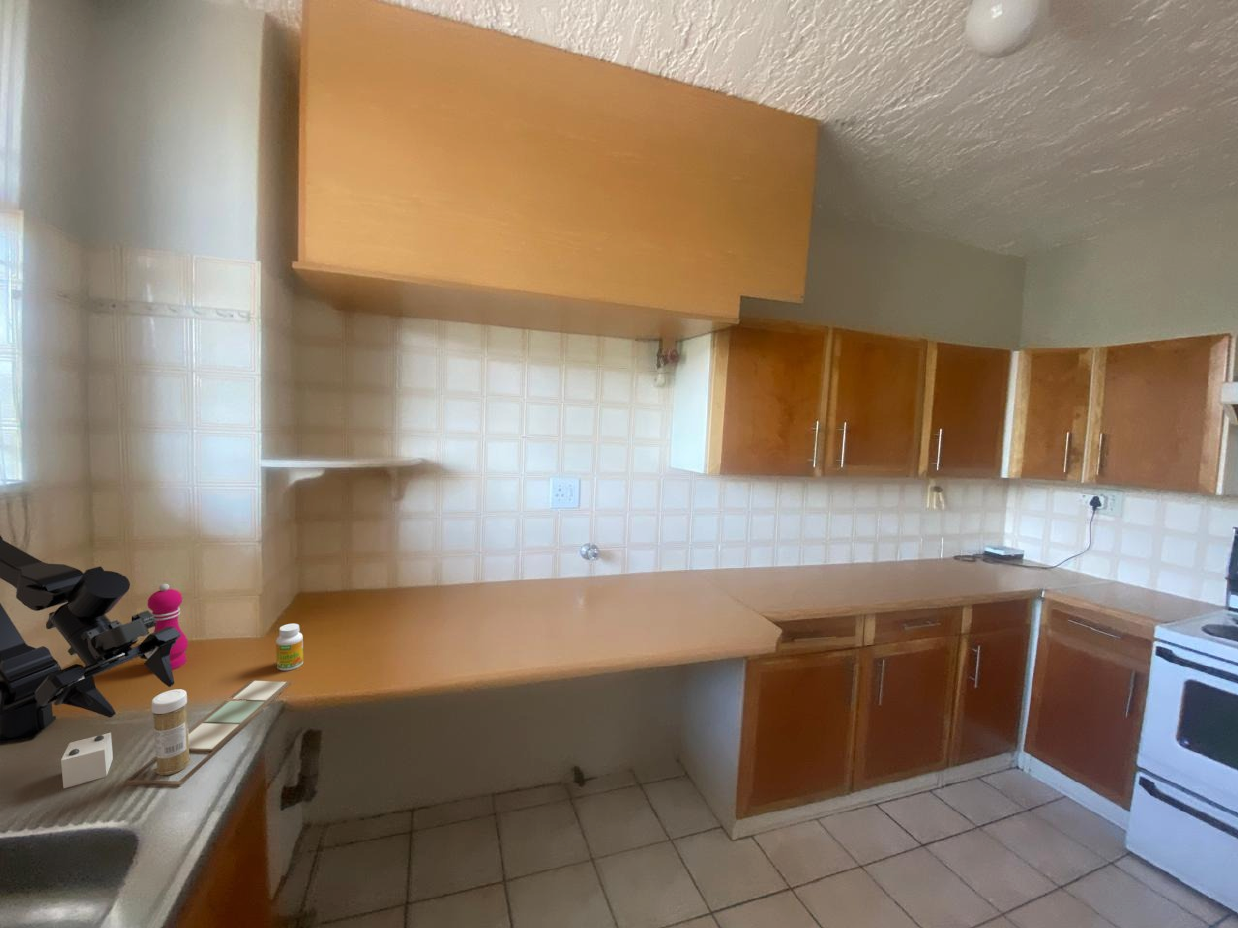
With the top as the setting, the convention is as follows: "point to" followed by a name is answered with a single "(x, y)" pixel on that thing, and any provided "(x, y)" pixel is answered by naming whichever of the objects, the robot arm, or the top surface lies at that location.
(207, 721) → the game board
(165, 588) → the pepper mill
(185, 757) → the tan spice jar
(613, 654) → the top surface
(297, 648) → the supplement bottle
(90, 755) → the die
